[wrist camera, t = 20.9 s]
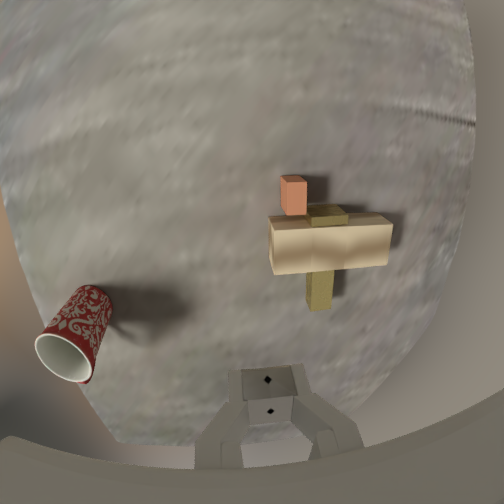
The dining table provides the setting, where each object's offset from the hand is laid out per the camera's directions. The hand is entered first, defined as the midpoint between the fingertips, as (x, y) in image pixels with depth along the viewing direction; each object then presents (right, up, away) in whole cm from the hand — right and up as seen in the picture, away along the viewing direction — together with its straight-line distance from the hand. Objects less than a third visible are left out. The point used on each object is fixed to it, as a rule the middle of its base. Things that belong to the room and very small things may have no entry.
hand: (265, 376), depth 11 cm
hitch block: (+10, +8, +30) cm, 32 cm away
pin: (+9, +4, +31) cm, 33 cm away
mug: (-27, -5, +32) cm, 42 cm away
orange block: (+4, +13, +26) cm, 30 cm away
